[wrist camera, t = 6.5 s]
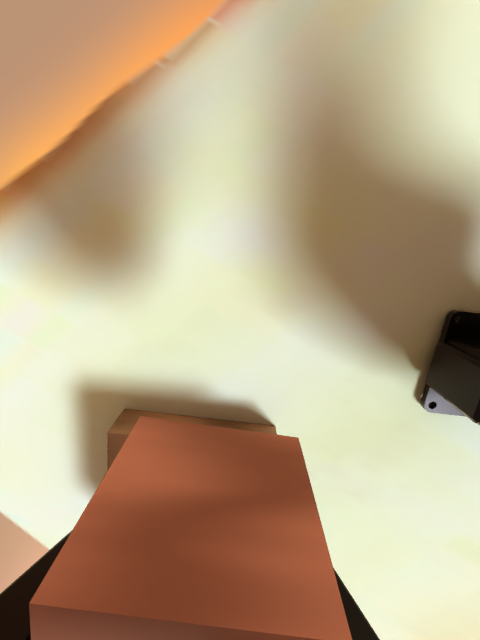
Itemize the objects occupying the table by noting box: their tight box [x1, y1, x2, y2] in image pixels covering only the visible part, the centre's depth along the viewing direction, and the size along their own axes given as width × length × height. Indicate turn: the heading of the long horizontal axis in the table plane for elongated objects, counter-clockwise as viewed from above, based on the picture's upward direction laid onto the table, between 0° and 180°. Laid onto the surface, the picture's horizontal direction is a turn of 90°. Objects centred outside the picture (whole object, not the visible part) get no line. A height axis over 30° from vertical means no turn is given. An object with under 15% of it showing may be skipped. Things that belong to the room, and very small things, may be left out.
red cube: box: [29, 416, 352, 640], centre depth 7 cm, size 4×4×4 cm
